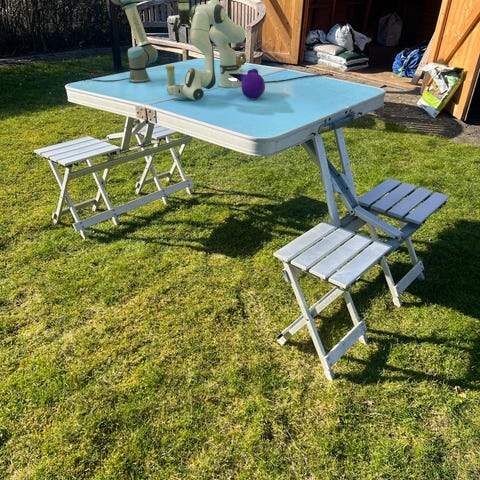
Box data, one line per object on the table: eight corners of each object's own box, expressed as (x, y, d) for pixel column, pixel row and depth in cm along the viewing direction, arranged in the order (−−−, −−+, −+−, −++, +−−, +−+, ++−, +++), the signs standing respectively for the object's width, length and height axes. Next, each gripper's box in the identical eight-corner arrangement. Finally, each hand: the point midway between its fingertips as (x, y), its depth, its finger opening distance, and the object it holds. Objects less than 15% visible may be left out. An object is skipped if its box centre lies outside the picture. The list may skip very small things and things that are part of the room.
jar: (175, 94, 298) (172, 67, 289) (168, 94, 299) (165, 67, 290) (176, 92, 302) (174, 65, 294) (169, 92, 303) (167, 66, 294)
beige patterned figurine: (226, 73, 360) (225, 53, 353) (219, 71, 369) (219, 51, 361) (249, 70, 370) (249, 50, 362) (242, 68, 378) (241, 49, 371)
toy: (250, 90, 302) (265, 104, 282) (225, 86, 295) (239, 99, 274) (256, 66, 294) (272, 78, 274) (231, 61, 287) (246, 73, 266)
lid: (173, 69, 290) (173, 66, 289) (165, 69, 290) (164, 66, 289) (175, 68, 295) (175, 65, 294) (167, 68, 295) (166, 65, 294)
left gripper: (202, 9, 311) (204, 42, 322) (171, 9, 320) (173, 41, 331) (197, 10, 305) (199, 44, 316) (165, 9, 314) (168, 42, 325)
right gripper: (201, 82, 284) (191, 78, 294) (171, 86, 274) (162, 82, 285) (202, 92, 287) (192, 88, 297) (172, 97, 278) (163, 93, 288)
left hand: (186, 42), depth 323 cm, fingers open, 13 cm apart
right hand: (177, 86), depth 291 cm, fingers open, 8 cm apart
